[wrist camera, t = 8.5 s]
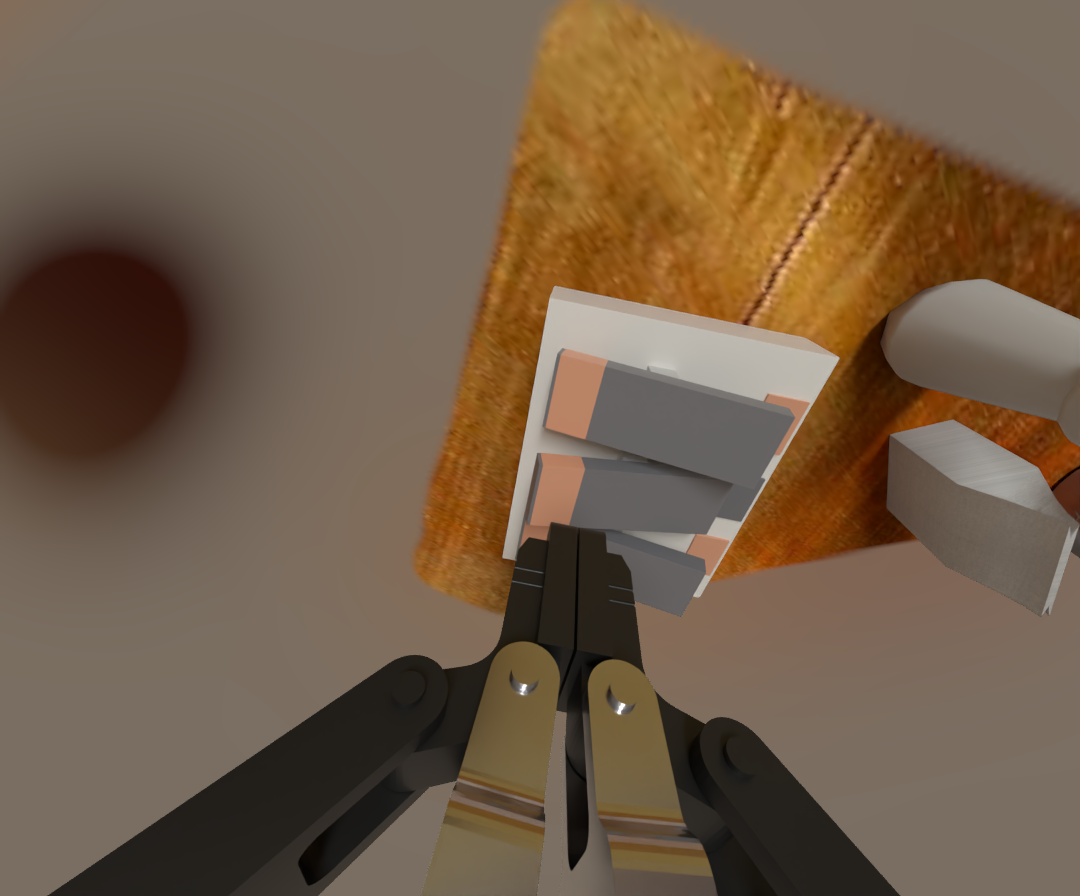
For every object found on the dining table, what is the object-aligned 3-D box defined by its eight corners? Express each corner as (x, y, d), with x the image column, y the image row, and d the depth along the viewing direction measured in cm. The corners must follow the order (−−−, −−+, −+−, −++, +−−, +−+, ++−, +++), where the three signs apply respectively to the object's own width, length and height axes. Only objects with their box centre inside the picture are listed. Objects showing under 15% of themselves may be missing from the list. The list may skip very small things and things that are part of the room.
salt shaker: (969, 356, 25) (1283, 474, 14) (863, 382, 26) (1069, 510, 15) (985, 257, 22) (1389, 305, 11) (866, 293, 24) (1118, 366, 12)
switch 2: (725, 469, 25) (735, 481, 24) (698, 522, 27) (706, 535, 26) (537, 452, 23) (539, 464, 22) (524, 511, 25) (526, 525, 24)
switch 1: (789, 407, 20) (795, 417, 19) (750, 477, 23) (753, 490, 22) (562, 347, 22) (557, 353, 21) (547, 418, 24) (542, 426, 23)
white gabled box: (886, 508, 31) (1002, 622, 22) (889, 434, 28) (1024, 533, 19) (943, 497, 30) (1087, 611, 21) (953, 419, 27) (1124, 516, 18)
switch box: (805, 337, 25) (854, 366, 21) (688, 560, 35) (703, 612, 31) (554, 285, 25) (547, 302, 20) (510, 524, 35) (498, 571, 31)
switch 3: (704, 559, 26) (706, 572, 25) (680, 602, 28) (680, 617, 27) (529, 502, 28) (524, 512, 27) (520, 547, 30) (514, 559, 29)
